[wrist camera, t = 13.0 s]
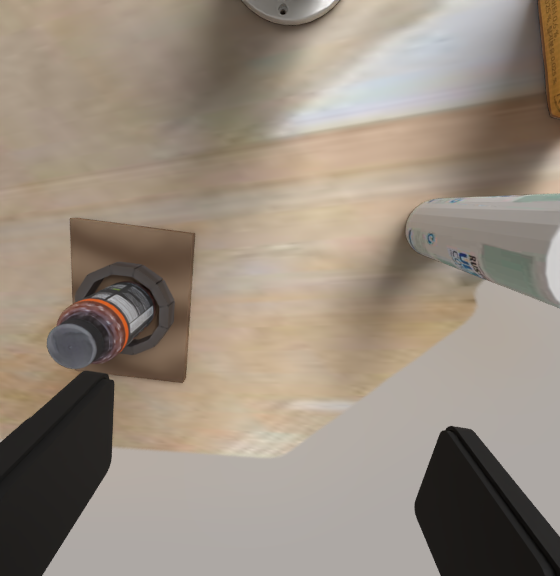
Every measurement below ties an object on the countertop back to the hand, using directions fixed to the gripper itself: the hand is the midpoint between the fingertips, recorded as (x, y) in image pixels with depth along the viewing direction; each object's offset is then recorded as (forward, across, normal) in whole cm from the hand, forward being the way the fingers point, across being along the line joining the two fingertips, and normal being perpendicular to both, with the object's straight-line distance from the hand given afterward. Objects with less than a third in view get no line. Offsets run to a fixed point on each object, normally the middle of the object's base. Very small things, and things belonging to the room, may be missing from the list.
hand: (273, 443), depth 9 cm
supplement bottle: (+28, +16, +8) cm, 33 cm away
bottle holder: (+29, +16, +8) cm, 34 cm away
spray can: (+29, -16, -6) cm, 34 cm away
